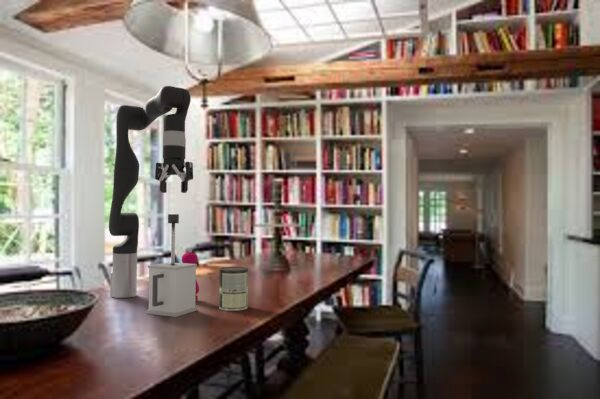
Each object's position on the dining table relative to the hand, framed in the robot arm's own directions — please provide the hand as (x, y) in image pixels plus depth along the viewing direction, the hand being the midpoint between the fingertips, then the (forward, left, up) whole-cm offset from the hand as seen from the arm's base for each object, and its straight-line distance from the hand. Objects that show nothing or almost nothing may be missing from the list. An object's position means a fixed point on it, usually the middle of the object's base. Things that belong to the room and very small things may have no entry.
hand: (173, 192), depth 175 cm
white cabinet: (0, -2, -41) cm, 41 cm away
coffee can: (+15, +15, -41) cm, 46 cm away
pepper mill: (-7, +19, -41) cm, 45 cm away
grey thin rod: (0, 0, -29) cm, 29 cm away
